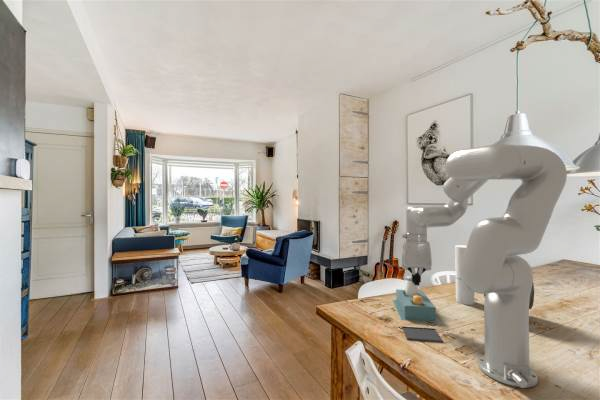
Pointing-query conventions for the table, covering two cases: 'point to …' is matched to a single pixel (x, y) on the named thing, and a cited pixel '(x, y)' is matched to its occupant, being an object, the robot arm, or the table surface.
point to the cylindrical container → (462, 291)
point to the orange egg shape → (417, 300)
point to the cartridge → (410, 287)
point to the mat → (421, 334)
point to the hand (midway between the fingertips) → (416, 284)
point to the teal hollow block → (415, 308)
